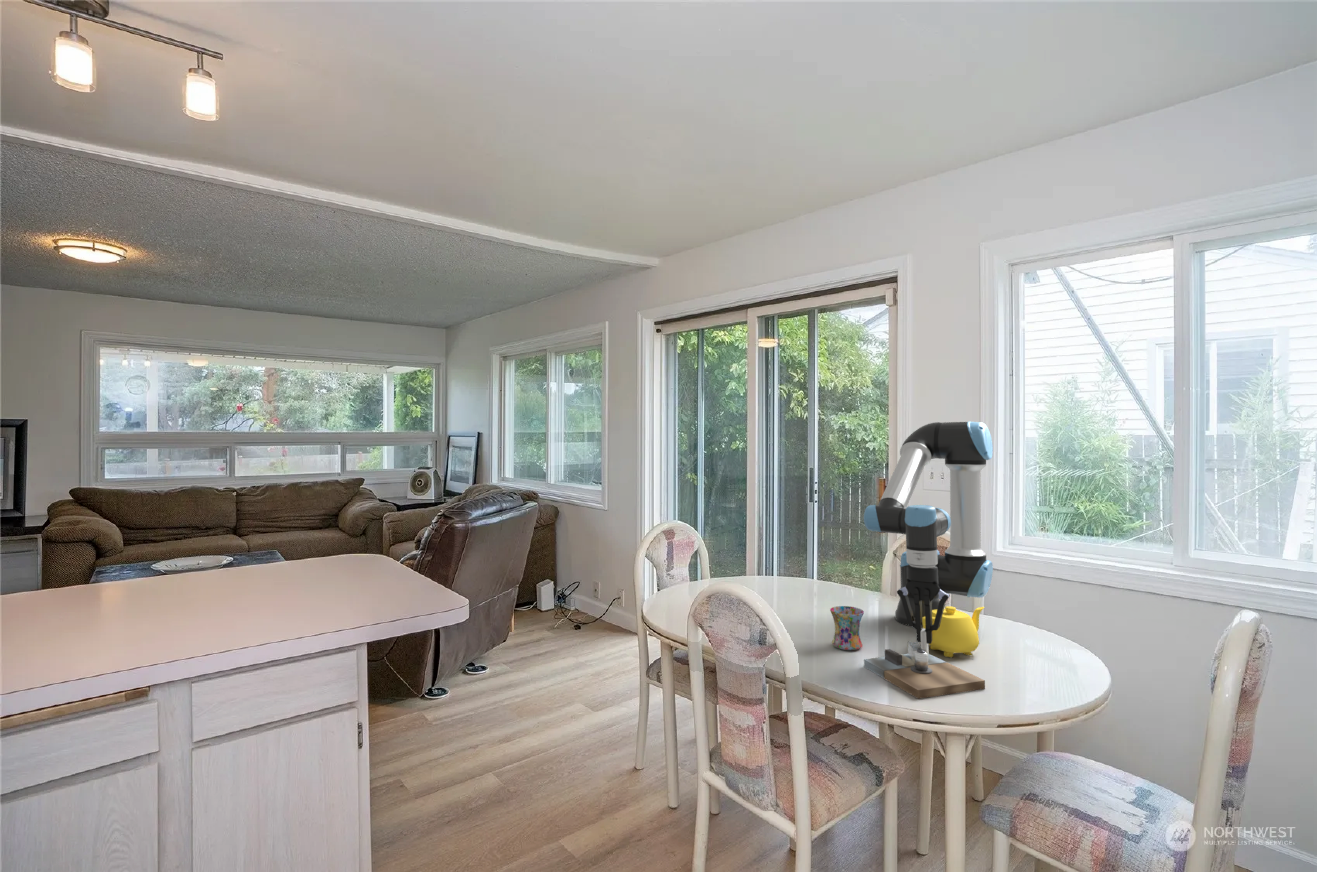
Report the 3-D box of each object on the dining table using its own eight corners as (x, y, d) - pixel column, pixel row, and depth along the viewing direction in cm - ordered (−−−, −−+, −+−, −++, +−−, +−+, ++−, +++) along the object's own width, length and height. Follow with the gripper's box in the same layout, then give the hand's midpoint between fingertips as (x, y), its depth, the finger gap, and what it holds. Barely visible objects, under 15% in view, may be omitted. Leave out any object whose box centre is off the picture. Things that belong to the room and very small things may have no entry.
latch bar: (929, 670, 156) (929, 652, 156) (915, 669, 157) (915, 652, 157) (919, 653, 168) (919, 636, 168) (906, 652, 169) (906, 636, 169)
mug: (867, 653, 176) (867, 615, 176) (834, 652, 177) (833, 614, 177) (857, 639, 188) (857, 603, 188) (825, 638, 189) (825, 603, 189)
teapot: (1001, 656, 173) (1001, 611, 173) (937, 662, 169) (936, 616, 169) (967, 640, 186) (967, 598, 186) (907, 645, 182) (906, 603, 182)
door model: (924, 658, 171) (924, 642, 171) (984, 688, 151) (984, 670, 151) (864, 666, 166) (863, 649, 166) (918, 698, 146) (918, 679, 146)
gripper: (893, 565, 165) (895, 655, 166) (945, 570, 158) (948, 663, 158) (900, 560, 172) (902, 646, 172) (951, 564, 164) (954, 654, 164)
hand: (924, 654), depth 165 cm, fingers closed
